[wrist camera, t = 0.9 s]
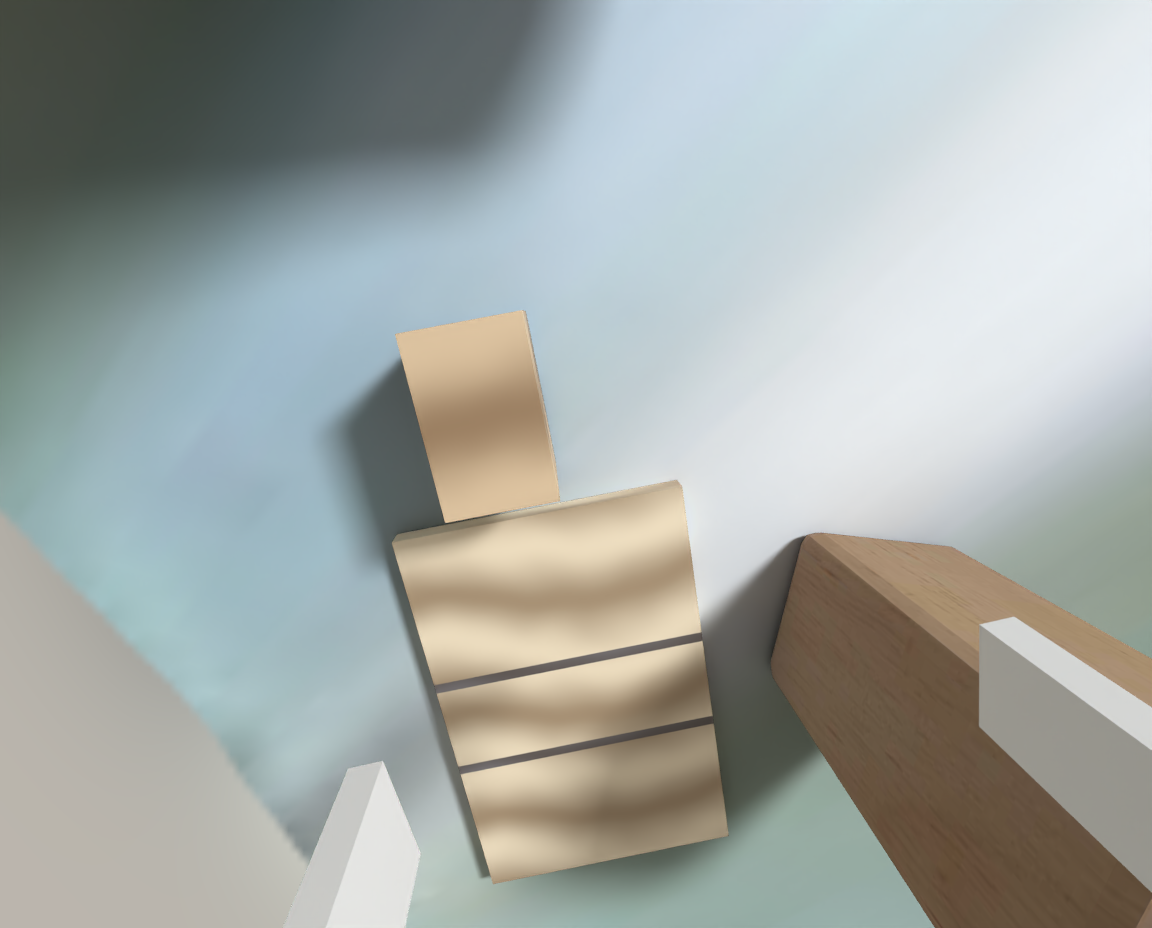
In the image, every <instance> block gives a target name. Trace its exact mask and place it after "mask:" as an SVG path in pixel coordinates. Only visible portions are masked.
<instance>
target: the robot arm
mask: <svg viewBox="0 0 1152 928" xmlns="http://www.w3.org/2000/svg"><path fill="white" fill-rule="evenodd" d="M979 727H980V728H981V729H982V730H983V731H984V732H985V733H986V734H987V735H988V736H990V737H991V738H992V739H993V740H994V741H995V742H996V743H997V744H998V745H999V746H1000V747H1001V748H1002V749H1003V750H1004V751H1005V752H1006V753H1007V754H1008V755H1009V756H1010V757H1011V758H1012V759H1013V760H1014V761H1015V762H1017V763H1018V764H1019V765H1020V766H1021V767H1022V768H1023V769H1024V770H1025V771H1026V772H1027V773H1028V774H1029V775H1030V776H1031V777H1032V778H1033V779H1034V780H1035V781H1036V782H1037V783H1038V784H1039V785H1040V786H1041V787H1043V788H1044V789H1045V790H1046V791H1047V792H1048V793H1049V794H1050V795H1051V796H1052V797H1053V798H1054V799H1055V800H1056V801H1057V802H1058V803H1059V804H1060V805H1061V806H1062V807H1063V808H1064V809H1065V810H1066V811H1067V812H1068V813H1070V814H1071V815H1072V816H1073V817H1074V818H1075V819H1076V820H1077V821H1078V822H1079V823H1080V824H1081V825H1082V826H1083V827H1084V828H1085V829H1086V830H1087V831H1088V832H1089V833H1090V834H1091V835H1092V836H1093V837H1094V838H1095V839H1097V840H1098V841H1099V842H1100V843H1101V844H1102V845H1103V846H1104V847H1105V848H1106V849H1107V850H1108V851H1109V852H1110V853H1111V854H1112V855H1113V856H1114V857H1115V858H1116V859H1117V860H1118V861H1119V862H1120V863H1121V864H1122V865H1124V866H1125V867H1126V868H1127V869H1128V870H1129V871H1130V872H1131V873H1132V874H1133V875H1134V876H1135V877H1136V878H1137V879H1138V880H1139V881H1140V882H1141V883H1142V884H1143V885H1144V886H1145V887H1146V888H1147V889H1148V890H1150V891H1151V892H1152V707H1150V706H1149V705H1147V704H1146V703H1144V702H1143V701H1141V700H1140V699H1138V698H1137V697H1135V696H1134V695H1132V694H1131V693H1129V692H1128V691H1126V690H1125V689H1123V688H1122V687H1120V686H1119V685H1117V684H1116V683H1114V682H1113V681H1111V680H1109V679H1108V678H1106V677H1105V676H1103V675H1102V674H1100V673H1099V672H1097V671H1096V670H1094V669H1093V668H1091V667H1090V666H1088V665H1087V664H1085V663H1084V662H1082V661H1081V660H1079V659H1078V658H1076V657H1075V656H1073V655H1072V654H1070V653H1069V652H1067V651H1066V650H1064V649H1063V648H1061V647H1059V646H1058V645H1056V644H1055V643H1053V642H1052V641H1050V640H1049V639H1047V638H1046V637H1044V636H1043V635H1041V634H1040V633H1038V632H1037V631H1035V630H1034V629H1032V628H1031V627H1029V626H1028V625H1026V624H1025V623H1023V622H1022V621H1020V620H1019V619H1017V618H1016V617H1010V618H1006V619H1001V620H997V621H993V622H988V623H984V624H979ZM420 855H421V853H420V850H419V848H418V845H417V843H416V841H415V838H414V836H413V833H412V831H411V828H410V826H409V823H408V821H407V819H406V816H405V814H404V811H403V809H402V806H401V804H400V801H399V799H398V797H397V794H396V792H395V789H394V787H393V784H392V782H391V779H390V777H389V774H388V772H387V770H386V767H385V765H384V762H383V761H379V762H375V763H370V764H366V765H362V766H357V767H353V768H348V770H347V772H346V775H345V777H344V780H343V782H342V784H341V787H340V789H339V792H338V794H337V797H336V799H335V802H334V804H333V806H332V809H331V811H330V814H329V816H328V819H327V821H326V823H325V826H324V828H323V831H322V833H321V836H320V838H319V841H318V843H317V845H316V848H315V850H314V853H313V855H312V858H311V860H310V862H309V865H308V867H307V870H306V872H305V875H304V877H303V880H302V882H301V885H300V887H299V889H298V892H297V894H296V897H295V899H294V902H293V904H292V906H291V909H290V911H289V914H288V916H287V919H286V921H285V923H284V926H283V928H405V925H406V921H407V916H408V911H409V907H410V902H411V897H412V893H413V888H414V883H415V879H416V874H417V869H418V865H419V860H420Z"/></svg>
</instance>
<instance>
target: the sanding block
mask: <svg viewBox="0 0 1152 928" xmlns="http://www.w3.org/2000/svg"><path fill="white" fill-rule="evenodd" d="M395 336H396V340H397V343H398V347H399V351H400V355H401V358H402V362H403V366H404V370H405V373H406V377H407V381H408V385H409V388H410V392H411V396H412V400H413V404H414V407H415V411H416V415H417V419H418V422H419V426H420V430H421V434H422V437H423V441H424V445H425V449H426V453H427V456H428V460H429V464H430V468H431V471H432V475H433V479H434V483H435V486H436V490H437V494H438V498H439V502H440V505H441V509H442V513H443V517H444V520H445V523H449V522H454V521H459V520H464V519H469V518H475V517H480V516H485V515H490V514H495V513H500V512H506V511H511V510H516V509H521V508H526V507H531V506H537V505H542V504H547V503H552V502H557V501H560V496H559V487H558V478H557V470H556V461H555V455H554V450H553V445H552V440H551V435H550V430H549V425H548V420H547V415H546V410H545V405H544V400H543V395H542V390H541V385H540V380H539V375H538V370H537V365H536V360H535V355H534V350H533V344H532V339H531V334H530V329H529V324H528V319H527V314H526V311H523V310H521V311H515V312H510V313H505V314H499V315H494V316H489V317H483V318H478V319H473V320H467V321H462V322H457V323H451V324H446V325H441V326H435V327H430V328H425V329H419V330H414V331H409V332H403V333H398V334H395Z"/></svg>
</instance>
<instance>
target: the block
mask: <svg viewBox="0 0 1152 928" xmlns="http://www.w3.org/2000/svg"><path fill="white" fill-rule="evenodd" d="M1010 617H1016V618H1017V619H1019V620H1020V621H1022V622H1023V623H1025V624H1026V625H1028V626H1029V627H1031V628H1032V629H1034V630H1035V631H1037V632H1038V633H1040V634H1041V635H1043V636H1044V637H1046V638H1047V639H1049V640H1050V641H1052V642H1053V643H1055V644H1056V645H1058V646H1059V647H1061V648H1063V649H1064V650H1066V651H1067V652H1069V653H1070V654H1072V655H1073V656H1075V657H1076V658H1078V659H1079V660H1081V661H1082V662H1084V663H1085V664H1087V665H1088V666H1090V667H1091V668H1093V669H1094V670H1096V671H1097V672H1099V673H1100V674H1102V675H1103V676H1105V677H1106V678H1108V679H1109V680H1111V681H1113V682H1114V683H1116V684H1117V685H1119V686H1120V687H1122V688H1123V689H1125V690H1126V691H1128V692H1129V693H1131V694H1132V695H1134V696H1135V697H1137V698H1138V699H1140V700H1141V701H1143V702H1144V703H1146V704H1147V705H1149V706H1150V707H1152V659H1151V658H1149V657H1147V656H1146V655H1144V654H1142V653H1140V652H1139V651H1137V650H1135V649H1133V648H1131V647H1130V646H1128V645H1126V644H1124V643H1122V642H1121V641H1119V640H1117V639H1115V638H1114V637H1112V636H1110V635H1108V634H1106V633H1105V632H1103V631H1101V630H1099V629H1097V628H1096V627H1094V626H1092V625H1090V624H1089V623H1087V622H1085V621H1083V620H1081V619H1080V618H1078V617H1076V616H1074V615H1072V614H1071V613H1069V612H1067V611H1065V610H1063V609H1062V608H1060V607H1058V606H1056V605H1055V604H1053V603H1051V602H1049V601H1047V600H1046V599H1044V598H1042V597H1040V596H1038V595H1037V594H1035V593H1033V592H1031V591H1030V590H1028V589H1026V588H1024V587H1022V586H1021V585H1019V584H1017V583H1015V582H1013V581H1012V580H1010V579H1008V578H1006V577H1005V576H1003V575H1001V574H999V573H997V572H996V571H994V570H992V569H990V568H988V567H987V566H985V565H983V564H981V563H980V562H978V561H976V560H974V559H972V558H971V557H969V556H967V555H965V554H963V553H962V552H960V551H958V550H956V549H955V548H953V547H948V546H939V545H930V544H921V543H911V542H902V541H893V540H883V539H874V538H865V537H855V536H846V535H837V534H828V533H814V534H809V535H807V536H806V537H805V539H804V540H803V542H802V543H801V547H800V551H799V555H798V558H797V562H796V566H795V570H794V574H793V578H792V581H791V585H790V589H789V593H788V597H787V600H786V604H785V608H784V612H783V616H782V620H781V623H780V627H779V631H778V635H777V639H776V643H775V646H774V650H773V654H772V658H771V670H772V676H773V679H774V680H775V682H776V683H777V685H778V686H779V688H780V689H781V691H782V692H783V694H784V696H785V697H786V699H787V700H788V702H789V703H790V705H791V706H792V708H793V709H794V711H795V712H796V714H797V716H798V717H799V719H800V720H801V722H802V723H803V725H804V726H805V728H806V729H807V731H808V733H809V734H810V736H811V737H812V739H813V740H814V742H815V743H816V745H817V746H818V748H819V750H820V751H821V753H822V754H823V756H824V757H825V759H826V760H827V762H828V763H829V765H830V766H831V768H832V770H833V771H834V773H835V774H836V776H837V777H838V779H839V780H840V782H841V783H842V785H843V787H844V788H845V790H846V791H847V793H848V794H849V796H850V797H851V799H852V800H853V802H854V804H855V805H856V807H857V808H858V810H859V811H860V813H861V814H862V816H863V817H864V819H865V821H866V822H867V824H868V825H869V827H870V828H871V830H872V831H873V833H874V834H875V836H876V837H877V839H878V841H879V842H880V844H881V845H882V847H883V848H884V850H885V851H886V853H887V854H888V856H889V858H890V859H891V861H892V862H893V864H894V865H895V867H896V868H897V870H898V871H899V873H900V875H901V876H902V878H903V879H904V881H905V882H906V884H907V885H908V887H909V888H910V890H911V891H912V893H913V895H914V896H915V898H916V899H917V901H918V902H919V904H920V905H921V907H922V908H923V910H924V912H925V913H926V915H927V916H928V918H929V919H930V921H931V922H932V924H933V925H934V927H935V928H1152V892H1151V891H1150V890H1148V889H1147V888H1146V887H1145V886H1144V885H1143V884H1142V883H1141V882H1140V881H1139V880H1138V879H1137V878H1136V877H1135V876H1134V875H1133V874H1132V873H1131V872H1130V871H1129V870H1128V869H1127V868H1126V867H1125V866H1124V865H1122V864H1121V863H1120V862H1119V861H1118V860H1117V859H1116V858H1115V857H1114V856H1113V855H1112V854H1111V853H1110V852H1109V851H1108V850H1107V849H1106V848H1105V847H1104V846H1103V845H1102V844H1101V843H1100V842H1099V841H1098V840H1097V839H1095V838H1094V837H1093V836H1092V835H1091V834H1090V833H1089V832H1088V831H1087V830H1086V829H1085V828H1084V827H1083V826H1082V825H1081V824H1080V823H1079V822H1078V821H1077V820H1076V819H1075V818H1074V817H1073V816H1072V815H1071V814H1070V813H1068V812H1067V811H1066V810H1065V809H1064V808H1063V807H1062V806H1061V805H1060V804H1059V803H1058V802H1057V801H1056V800H1055V799H1054V798H1053V797H1052V796H1051V795H1050V794H1049V793H1048V792H1047V791H1046V790H1045V789H1044V788H1043V787H1041V786H1040V785H1039V784H1038V783H1037V782H1036V781H1035V780H1034V779H1033V778H1032V777H1031V776H1030V775H1029V774H1028V773H1027V772H1026V771H1025V770H1024V769H1023V768H1022V767H1021V766H1020V765H1019V764H1018V763H1017V762H1015V761H1014V760H1013V759H1012V758H1011V757H1010V756H1009V755H1008V754H1007V753H1006V752H1005V751H1004V750H1003V749H1002V748H1001V747H1000V746H999V745H998V744H997V743H996V742H995V741H994V740H993V739H992V738H991V737H990V736H988V735H987V734H986V733H985V732H984V731H983V730H982V729H981V728H980V727H979V624H984V623H988V622H993V621H997V620H1001V619H1006V618H1010Z"/></svg>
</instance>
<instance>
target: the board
mask: <svg viewBox="0 0 1152 928" xmlns="http://www.w3.org/2000/svg"><path fill="white" fill-rule="evenodd" d="M392 546H393V549H394V552H395V556H396V559H397V562H398V566H399V569H400V572H401V576H402V579H403V582H404V586H405V589H406V593H407V596H408V599H409V603H410V606H411V609H412V613H413V616H414V619H415V623H416V626H417V630H418V633H419V636H420V640H421V643H422V646H423V650H424V653H425V656H426V660H427V663H428V667H429V670H430V673H431V677H432V680H433V683H434V687H435V690H436V693H437V697H438V700H439V704H440V707H441V710H442V714H443V717H444V720H445V724H446V727H447V730H448V734H449V737H450V741H451V744H452V747H453V751H454V754H455V757H456V761H457V764H458V767H459V771H460V774H461V778H462V781H463V784H464V788H465V791H466V794H467V798H468V801H469V804H470V808H471V811H472V814H473V818H474V821H475V825H476V828H477V831H478V835H479V838H480V841H481V845H482V848H483V851H484V855H485V858H486V862H487V865H488V868H489V872H490V875H491V878H492V882H493V884H496V883H501V882H506V881H511V880H515V879H520V878H525V877H530V876H535V875H540V874H545V873H550V872H555V871H559V870H564V869H569V868H574V867H579V866H584V865H589V864H594V863H599V862H603V861H608V860H613V859H618V858H623V857H628V856H633V855H638V854H643V853H647V852H652V851H657V850H662V849H667V848H672V847H677V846H682V845H687V844H691V843H696V842H701V841H706V840H711V839H716V838H721V837H726V836H729V835H728V827H727V820H726V812H725V805H724V797H723V790H722V782H721V775H720V767H719V760H718V752H717V745H716V737H715V730H714V722H713V715H712V707H711V700H710V692H709V685H708V677H707V670H706V662H705V655H704V647H703V640H702V632H701V625H700V617H699V610H698V602H697V595H696V587H695V580H694V572H693V565H692V557H691V550H690V542H689V535H688V527H687V520H686V512H685V505H684V497H683V490H682V486H681V485H680V483H679V482H678V481H677V480H674V481H669V482H664V483H659V484H653V485H648V486H643V487H638V488H633V489H628V490H622V491H617V492H612V493H607V494H602V495H597V496H591V497H586V498H581V499H576V500H571V501H566V502H560V503H555V504H550V505H545V506H540V507H535V508H529V509H524V510H519V511H514V512H509V513H504V514H498V515H493V516H488V517H483V518H478V519H473V520H467V521H462V522H457V523H452V524H447V525H442V526H437V527H431V528H426V529H421V530H416V531H411V532H406V533H400V534H397V535H396V537H395V538H394V540H393V541H392Z"/></svg>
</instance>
